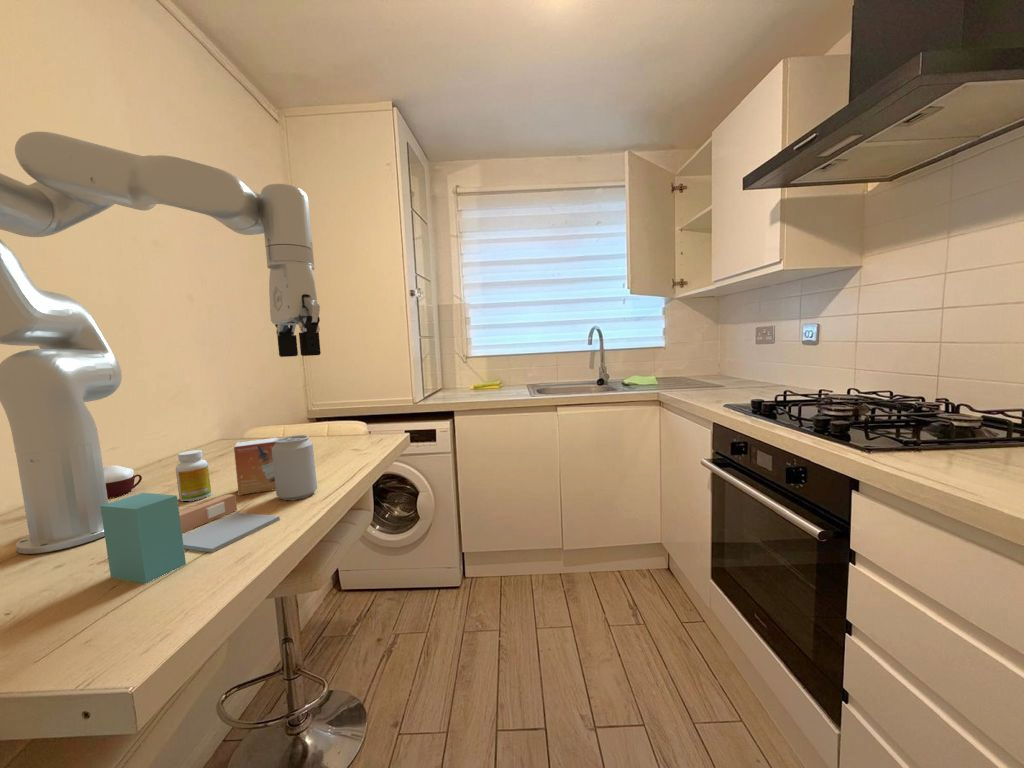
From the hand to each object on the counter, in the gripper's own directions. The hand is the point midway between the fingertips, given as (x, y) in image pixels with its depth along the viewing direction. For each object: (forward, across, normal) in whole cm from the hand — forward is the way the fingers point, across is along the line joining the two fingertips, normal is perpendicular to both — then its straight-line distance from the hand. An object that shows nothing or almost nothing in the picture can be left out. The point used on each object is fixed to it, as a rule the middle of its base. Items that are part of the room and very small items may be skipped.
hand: (299, 356), depth 78 cm
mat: (+28, -1, -14) cm, 32 cm away
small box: (+29, -21, -2) cm, 36 cm away
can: (+28, -9, +1) cm, 30 cm away
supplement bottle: (+29, -27, -12) cm, 42 cm away
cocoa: (+29, -47, -23) cm, 60 cm away
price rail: (+28, -8, -17) cm, 34 cm away
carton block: (+28, +5, -24) cm, 38 cm away
